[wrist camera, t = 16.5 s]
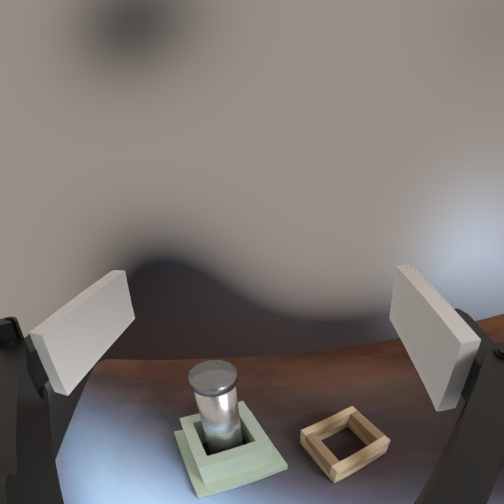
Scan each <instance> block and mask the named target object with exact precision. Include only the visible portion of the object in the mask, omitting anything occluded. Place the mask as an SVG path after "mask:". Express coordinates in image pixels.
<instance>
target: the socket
mask: <svg viewBox="0 0 504 504" xmlns="http://www.w3.org/2000/svg"><path fill="white" fill-rule="evenodd" d="M238 409H239V416H240V424H241V431H242V437H243V439H244V440H245V442H246V444H245V445H242V446H239V447H236V448H233V449H230V450H226V451H223V452H220V453H216V454H213V455H209V456H207V455H206V453H205V451H204V448H203V446H202V444H203V443H207V440H206V437H205V433H204V429H203V425H202V421H201V417H200V413H198V414H194V415H190V416H186V417H182V418H180V421H181V425H182V428H183V430H179V431H175V432H174V434H175V437H176V440H177V443H178V446H179V449H180V452H181V455H182V457H183V460H184V463H185V466H186V468H187V471H188V474H189V476H190V479H191V482H192V484H193V487H194V489H195V492H196V494H197V496H198V499H199V498H203V497H206V496H210V495H214V494H217V493H221V492H224V491H227V490H231V489H234V488H237V487H240V486H243V485H246V484H249V483H252V482H255V481H257V480H260V479H263V478H266V477H268V476H271V475H273V474H276V473H279V472H281V471H283V470H286V469H288V465H287V463H286V462H285V461H284V459H283V458H282V456H281V455H280V454H279V452H278V451H277V449H276V448H275V446H274V445H273V444H272V442H271V441H270V439H269V438H268V436H267V435H266V433H265V432H264V430H263V429H262V427H261V426H260V424H259V423H258V421H257V420H256V418H255V417H254V415H253V414H252V412H251V411H249V409H248V408H247V406H246V404H245V403H244V401H240V402H238Z"/></svg>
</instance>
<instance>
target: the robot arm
mask: <svg viewBox="0 0 504 504" xmlns="http://www.w3.org/2000/svg"><path fill="white" fill-rule="evenodd" d="M134 319H135V316H134V312H133V308H132V303H131V299H130V294H129V289H128V285H127V280H126V275H125V271H122V270H120V271H119V270H114V271H113V270H112V271H111V272H110V273H108V274H107V275H105V276H104V277H103V278H101V279H100V280H98V281H97V282H96V283H94V284H93V285H91V286H90V287H89V288H87V289H86V290H85V291H83V292H82V293H80V294H79V295H78V296H76V297H75V298H74V299H72V300H71V301H70V302H68V303H67V304H66V305H64V306H63V307H62V308H60V309H59V310H58V311H57V312H55V313H54V314H52V315H51V316H50V317H48V318H47V319H46V320H45V321H43V322H42V323H41V324H40V325H38V326H37V327H36V328H34V329H33V330H32V331H31V332H29V335H28V336H27V337H25V338H24V337H23V334H22V331H21V329H20V326H19V323H18V321H17V318H15V317H6V318H3V319H0V504H64V502H63V498H62V493H61V489H60V484H59V479H58V474H57V469H56V463H55V457H54V451H53V444H52V436H51V427H50V417H49V406H48V405H49V404H48V392H47V389H46V387H45V384H46V382H47V381H48V380H49V381H50V383H51V385H52V387H53V389H54V391H55V392H57V393H60V394H64V395H67V396H68V395H69V394H70V393H71V392H72V390H73V389H74V388H75V387H76V385H77V384H78V383H79V382H80V381H81V380H82V379H83V377H84V376H85V375H86V374H87V373H88V371H89V370H90V369H91V368H92V367H93V366H94V364H95V363H96V362H97V361H98V360H99V359H100V358H101V356H102V355H103V354H104V353H105V352H106V351H107V350H108V348H109V347H110V346H111V345H112V344H113V343H114V342H115V340H116V339H117V338H118V337H119V336H120V335H121V334H122V333H123V331H124V330H125V329H126V328H127V327H128V326H129V325H130V323H131V322H132V321H133V320H134ZM390 320H391V322H392V324H393V326H394V327H395V329H396V331H397V333H398V335H399V337H400V339H401V340H402V342H403V344H404V346H405V348H406V350H407V352H408V354H409V356H410V358H411V360H412V362H413V363H414V365H415V367H416V369H417V371H418V373H419V375H420V377H421V380H422V382H423V384H424V386H425V388H426V390H427V392H428V394H429V396H430V398H431V400H432V403H433V405H434V407H435V409H436V411H437V412H440V411H444V410H449V409H453V408H456V406H457V404H458V401H459V399H460V397H461V394H462V396H463V398H464V400H465V402H466V403H465V405H464V407H463V409H462V412H461V414H460V416H459V418H458V420H457V422H456V424H455V425H456V426H455V428H454V431H453V433H452V435H451V437H450V439H449V442H448V444H447V446H446V448H445V450H444V452H443V454H442V456H441V458H440V460H439V462H438V464H437V465H436V467H435V469H434V471H433V473H432V475H431V476H430V478H429V480H428V482H427V483H426V485H425V487H424V488H423V490H422V492H421V493H420V495H419V496H418V498H417V500H416V501H415V503H414V504H487V501H488V499H489V496H490V494H491V491H492V488H493V485H494V483H495V480H496V477H497V474H498V471H499V468H500V464H501V461H502V458H503V454H504V343H501V342H498V343H494V342H493V341H492V340H491V339H490V337H489V336H488V335H487V334H486V333H485V332H484V331H483V330H482V329H481V328H479V325H478V324H477V323H476V322H474V320H473V319H472V318H471V317H470V316H469V315H468V314H467V313H465V312H463V311H461V310H460V309H453V308H452V307H451V306H450V305H449V304H448V303H447V302H446V300H445V299H444V298H443V297H442V296H441V295H440V294H439V293H438V292H437V291H436V290H435V289H434V288H433V287H432V286H431V285H430V284H429V283H428V282H427V281H426V280H425V279H424V278H423V277H422V276H421V275H420V274H419V273H418V272H417V271H416V270H415V269H414V268H413V267H412V266H411V265H396V267H395V278H394V287H393V296H392V304H391V311H390Z"/></svg>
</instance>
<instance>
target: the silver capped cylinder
mask: <svg viewBox="0 0 504 504" xmlns="http://www.w3.org/2000/svg"><path fill="white" fill-rule="evenodd" d="M188 378H189V383H190V387H191V389H192V390H193V391H194V392H195V397H196V401H197V405H198V409H199V413H200V417H201V421H202V425H203V429H204V433H205V437H206V440H207V444H208V448H209V451H210V455H213V454H216V453H220V452H223V451H226V450H230V449H233V448H236V447H239V446H242V445H243V438H242V431H241V424H240V416H239V409H238V401H237V393H236V385H237V381H238V379H237V371H236V369H235V367H234V366H233V365H232V364H230V363H228V362H225V361H220V360H211V361H205V362H202V363H200V364H198V365H196V366H194V367H193V368H192V369H191V370H190V372H189V375H188Z"/></svg>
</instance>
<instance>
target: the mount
mask: <svg viewBox="0 0 504 504" xmlns="http://www.w3.org/2000/svg"><path fill="white" fill-rule="evenodd" d="M347 427H348V428H349V429H350V430H351V431H352V432H353V433H354V434H355V435H356V436H357V437H359V438H360V439H361V440H362V441H363V442H364V443H365V444H366V445H367V447H365V448H363V449H362V450H360V451H358V452H356V453H355V454H353V455H351V456H349V457H348V458H346V459H344V460H342V461H339V460H338V459H337V458H336V457H335V456H334V455H333V454H332V453H331V451H330V450H329V449H328V448H327V447H326V446H325V445H324V444H323V442H322V441H321V440H323V439H325V438H327V437H329V436H331V435H333V434H335V433H337V432H339V431H341V430H343V429H345V428H347ZM300 443H301V445H302V446H303V447H304V448H305V450H306V451H307V452H308V453H309V455H310V456H311V457H312V458H313V459H314V461H315V462H316V463H317V464H318V465H319V467H320V468H321V469H322V470H323V471H324V473H325V474H326V475H327V476H328V477H329V478H330V480H331V481H332V482H333V483H336V482H338V481H340V480H341V479H343V478H345V477H347V476H349V475H350V474H352V473H354V472H356V471H357V470H359V469H361V468H362V467H364V466H366V465H367V464H369V463H371V462H372V461H374V460H375V459H377V458H378V457H380V456H382V455H383V454H385V453H386V451H387V448H388V446H389V443H390V439H389V438H388V437H386V436H385V435H384V434H383V433H382V432H381V431H380V430H379V429H377V428H376V427H375V426H374V425H373V424H372V423H371V422H369V421H368V420H367V419H366V418H365V417H364V416H363V415H362V414H361V413H359V412H358V411H357V410H356V409H355V408H354V407H353V406H351V407H349V408H347V409H345V410H343V411H341V412H339V413H337V414H335V415H333V416H331V417H329V418H327V419H325V420H322V421H320V422H318V423H316V424H314V425H311V426H309V427H307V428H305V429H302V430H301V437H300Z"/></svg>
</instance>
